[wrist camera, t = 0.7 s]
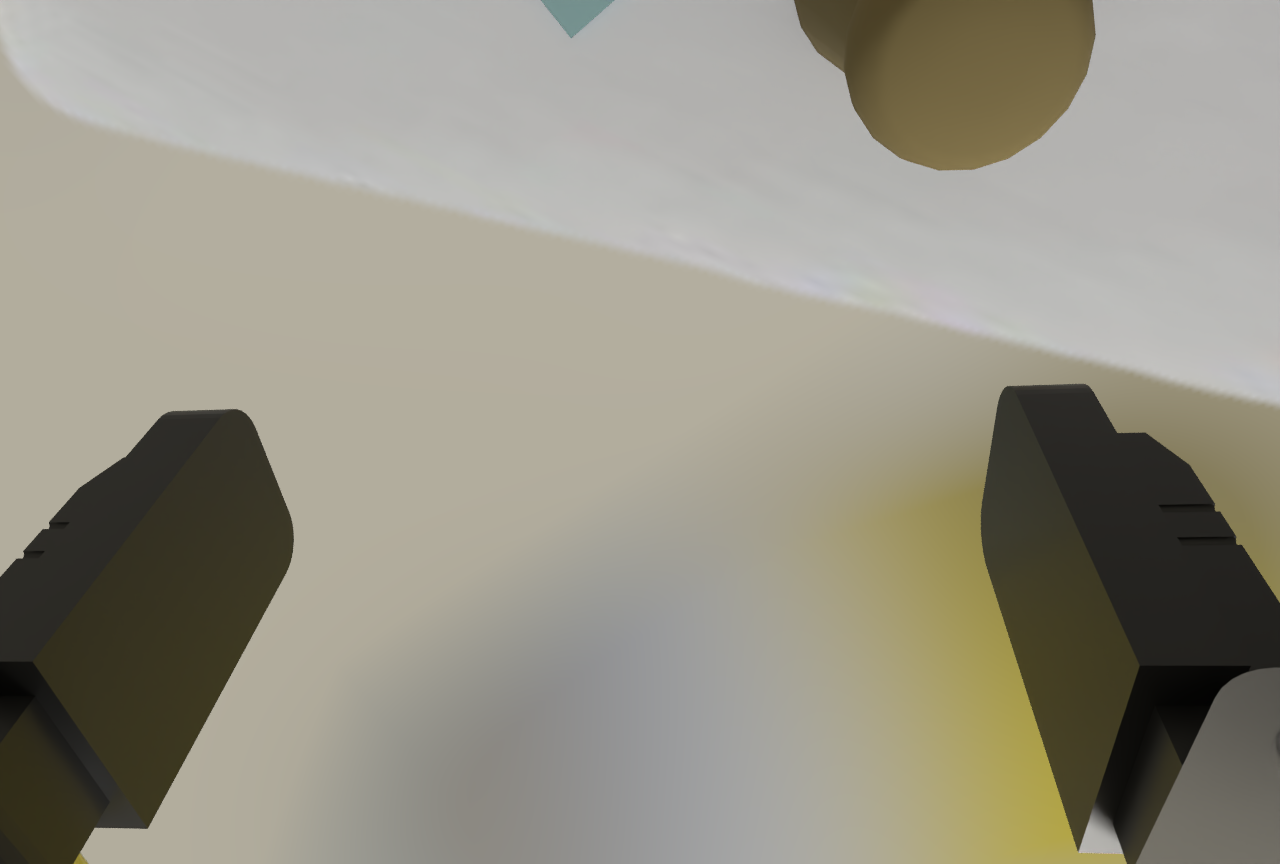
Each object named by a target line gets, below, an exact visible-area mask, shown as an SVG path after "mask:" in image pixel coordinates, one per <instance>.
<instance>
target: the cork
mask: <svg viewBox="0 0 1280 864" xmlns="http://www.w3.org/2000/svg"><path fill="white" fill-rule="evenodd" d="M794 1H795V5H796V9H797V13H798V17H799V21H800V25H801V28H802V29H803V31H804V32H805V34H806V35H807V37H808V38H809V40H810V41H811V43H812V45H813V46H814V48H815V49H816V51H817V52H818V53H819V54H821V55H822V56H823V57H824V58H826V59H827V60H828V61H830V62H831V63H832V64H834V65H835V66H836V67H838V68H839V69H840V70H842V71H843V72H844V73H845V76H846V80H847V84H848V88H849V93H850V97H851V101H852V104H853V106H854V109H855V111H856V112H857V114H858V115H859V117H860V118H861V120H862V122H863V123H864V125H865V126H866V128H867V129H868V131H869V132H870V134H871V135H872V137H873V138H874V139H875V140H876V141H878V142H879V143H881V144H882V145H883V146H885V147H886V148H887V149H889V150H890V151H891V152H893V153H894V154H895V155H897V156H898V157H899V158H901V159H904V160H907V161H910V162H913V163H916V164H920V165H923V166H926V167H929V168H933V169H936V170H974V169H977V168H980V167H983V166H986V165H989V164H993V163H996V162H999V161H1002V160H1005V159H1008V158H1010V157H1011V156H1013V155H1015V154H1016V153H1018V152H1019V151H1021V150H1022V149H1024V148H1025V147H1027V146H1029V145H1030V144H1032V143H1033V142H1035V141H1036V140H1038V139H1040V138H1041V137H1042V136H1043V135H1044V134H1045V133H1046V132H1047V131H1048V129H1049V128H1050V127H1051V126H1052V125H1053V124H1054V123H1055V122H1056V121H1057V120H1058V119H1059V118H1060V117H1061V116H1062V114H1063V113H1064V112H1065V111H1066V110H1067V109H1068V108H1069V106H1070V104H1071V102H1072V100H1073V98H1074V97H1075V95H1076V93H1077V91H1078V89H1079V87H1080V85H1081V84H1082V82H1083V80H1084V78H1085V76H1086V74H1087V71H1088V67H1089V62H1090V58H1091V53H1092V49H1093V44H1094V40H1095V35H1096V34H1095V23H1094V12H1093V2H1092V0H794Z"/></svg>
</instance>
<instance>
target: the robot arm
mask: <svg viewBox="0 0 1280 864" xmlns="http://www.w3.org/2000/svg"><path fill="white" fill-rule="evenodd" d="M1214 506H1215V503H1214V502H1213V500H1212V499H1211V497H1210V496H1209V494H1208V493H1207V491H1206V489H1205V488H1204V486H1203V485H1202V483H1201V482H1200V481H1199V479H1198V477H1197V476H1196V474H1195V473H1194V471H1193V470H1192V468H1191V467H1190V465H1189V464H1187V463H1186V462H1185V461H1183V460H1182V459H1181V458H1179V457H1178V456H1176V455H1175V454H1174V453H1172V452H1171V451H1169V450H1168V449H1166V447H1164V446H1163V445H1161V444H1160V443H1159V442H1157V441H1156V440H1155V439H1153V438H1152V437H1150V436H1149V435H1148V434H1146V433H1117V432H1116V431H1115V429H1114V427H1113V425H1112V423H1111V422H1110V420H1109V418H1108V417H1107V415H1106V413H1105V411H1104V410H1103V408H1102V406H1101V404H1100V403H1099V401H1098V399H1097V397H1096V396H1095V394H1094V392H1093V391H1092V389H1091V388H1090V387H1089V386H1088V385H1086V384H1064V385H1033V386H1007V387H1005V388H1004V390H1003V391H1002V393H1001V395H1000V398H999V402H998V407H997V413H996V419H995V425H994V431H993V438H992V445H991V450H990V457H989V463H988V469H987V476H986V482H985V488H984V494H983V501H982V509H981V537H982V546H983V553H984V558H985V563H986V566H987V569H988V573H989V576H990V579H991V582H992V585H993V588H994V591H995V594H996V598H997V601H998V604H999V607H1000V610H1001V613H1002V616H1003V619H1004V622H1005V626H1006V629H1007V632H1008V635H1009V638H1010V641H1011V644H1012V647H1013V650H1014V654H1015V657H1016V660H1017V663H1018V666H1019V669H1020V672H1021V675H1022V679H1023V682H1024V685H1025V688H1026V691H1027V694H1028V697H1029V700H1030V703H1031V706H1032V710H1033V713H1034V716H1035V719H1036V722H1037V725H1038V729H1039V731H1040V735H1041V738H1042V740H1043V744H1044V747H1045V750H1046V753H1047V757H1048V759H1049V763H1050V766H1051V769H1052V772H1053V775H1054V778H1055V782H1056V785H1057V788H1058V791H1059V794H1060V797H1061V800H1062V803H1063V806H1064V810H1065V813H1066V816H1067V819H1068V822H1069V825H1070V828H1071V831H1072V835H1073V837H1074V841H1075V844H1076V847H1077V850H1078V853H1111V854H1113V853H1114V854H1124V856H1125V859H1126V862H1127V864H1280V603H1279V601H1278V600H1277V598H1276V596H1275V595H1274V593H1273V592H1272V590H1271V589H1270V587H1269V586H1268V584H1267V583H1266V581H1265V580H1264V578H1263V577H1262V575H1261V574H1260V572H1259V570H1258V569H1257V567H1256V566H1255V564H1254V563H1253V561H1252V560H1251V558H1250V557H1249V555H1248V554H1247V552H1246V551H1245V549H1244V548H1243V546H1242V545H1237V544H1236V536H1235V534H1234V532H1233V531H1232V529H1231V528H1230V526H1229V525H1228V523H1227V522H1226V520H1225V518H1224V517H1223V516H1222V514H1221V512H1215V508H1214ZM49 524H50V527H49V529H43V530H42V531H41V532H40V533H39V534H38V535H37V536H36V538H35V539H34V540H33V541H32V542H31V543H30V544H29V545H28V546H27V548H26V549H25V550H24V551H23V552H24V557H23V559H16V560H15V561H14V562H13V563H12V565H11V566H10V567H9V568H8V569H7V570H6V571H5V572H4V574H3V575H2V576H1V577H0V864H88V862H87V860H86V859H85V858H84V856H83V855H82V854H81V853H80V851H81V850H82V848H83V847H84V845H85V843H86V841H87V840H88V838H89V836H90V835H91V833H92V831H93V830H94V828H140V829H147V828H148V827H149V825H150V823H151V822H152V820H153V818H154V816H155V814H156V812H157V810H158V809H159V807H160V805H161V803H162V801H163V799H164V797H165V795H166V794H167V792H168V790H169V788H170V786H171V785H172V783H173V781H174V779H175V777H176V775H177V774H178V772H179V770H180V768H181V766H182V764H183V762H184V761H185V759H186V757H187V755H188V753H189V751H190V750H191V748H192V746H193V744H194V742H195V740H196V738H197V737H198V735H199V733H200V731H201V729H202V727H203V725H204V724H205V722H206V720H207V718H208V716H209V714H210V713H211V711H212V709H213V707H214V705H215V703H216V702H217V700H218V698H219V696H220V694H221V692H222V690H223V689H224V687H225V685H226V683H227V681H228V679H229V678H230V676H231V674H232V672H233V670H234V668H235V666H236V665H237V663H238V661H239V659H240V657H241V655H242V653H243V652H244V650H245V648H246V646H247V644H248V642H249V641H250V639H251V637H252V635H253V633H254V631H255V629H256V628H257V626H258V624H259V622H260V620H261V619H262V617H263V615H264V613H265V611H266V609H267V607H268V606H269V604H270V602H271V600H272V598H273V596H274V595H275V592H276V591H277V589H278V587H279V585H280V583H281V582H282V580H283V578H284V576H285V574H286V572H287V570H288V568H289V565H290V562H291V558H292V553H293V542H294V536H293V525H292V521H291V517H290V514H289V511H288V509H287V506H286V503H285V501H284V498H283V496H282V493H281V491H280V488H279V486H278V483H277V481H276V478H275V476H274V473H273V471H272V468H271V466H270V463H269V461H268V458H267V456H266V453H265V451H264V448H263V446H262V443H261V441H260V438H259V436H258V433H257V431H256V428H255V426H254V424H253V422H252V421H251V419H250V418H249V417H248V416H247V414H245V413H244V412H242V411H240V410H237V409H227V410H197V411H172V412H168V413H166V414H164V415H162V416H161V418H159V419H158V420H157V422H156V423H155V424H154V425H153V426H152V427H151V428H150V430H149V431H148V432H147V433H146V434H145V435H144V437H143V438H142V439H141V440H140V441H139V442H138V444H137V445H136V446H135V447H134V448H133V449H132V451H131V452H130V453H129V454H128V455H127V456H126V457H125V458H122V459H121V460H119V461H118V462H116V463H115V464H114V465H112V466H111V467H109V468H108V469H106V470H105V471H103V472H102V473H100V474H99V475H98V476H96V477H95V478H93V479H92V480H90V481H89V482H87V483H86V484H84V485H83V486H82V487H80V488H79V489H78V490H77V491H76V492H75V494H74V495H73V496H72V497H71V498H70V499H69V500H68V501H67V503H66V504H65V505H64V506H63V507H62V508H61V509H60V510H59V512H58V513H57V514H56V515H55V516H54V517H53V518H52V520H51V521H50V522H49Z"/></svg>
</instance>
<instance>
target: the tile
mask: <svg viewBox="0 0 1280 864" xmlns="http://www.w3.org/2000/svg"><path fill="white" fill-rule="evenodd" d="M541 1H542V2H543V3H544V5H545V6H546V7H547V9H548V10H549V11H550V12H551V14H552V15H553V16H554V17H555V19H556V20H557V21H558V22H559V24H560V25H561V26H562V27H563V29H564V30H565V31H566V33H567V34H568V35H569V36H570V38H572V37H573V36H574V35H575V34H577V33H578V32H579V31H580V30H581V29H582V28H583V27H585V26H586V25H587V24H588V23H589V22H590V21H591V20H593V19H594V18H595V17H596V16H597V15H598V14H599V13H600V12H602V11H603V10H604V9H605V8H606V7H607V6H608V5H610V4H611V3H612V2H613V1H614V0H541Z"/></svg>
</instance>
